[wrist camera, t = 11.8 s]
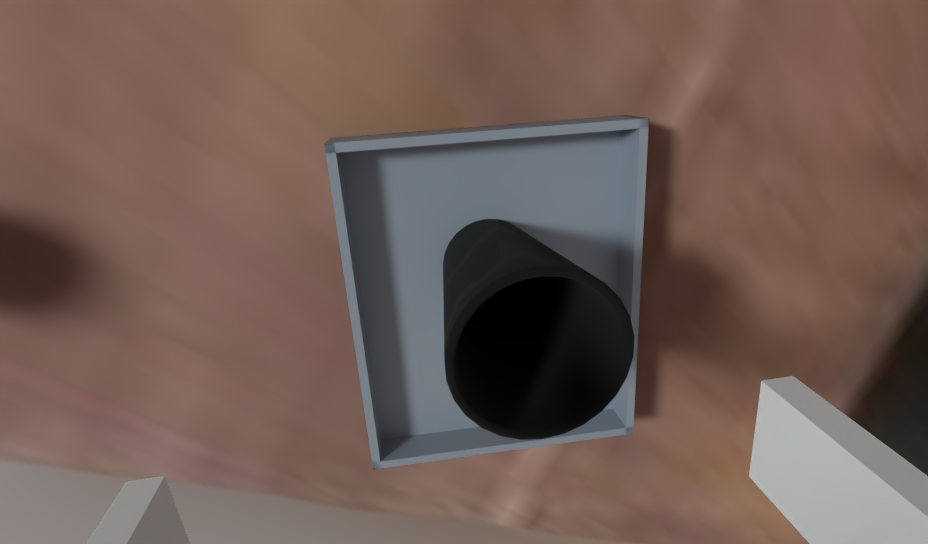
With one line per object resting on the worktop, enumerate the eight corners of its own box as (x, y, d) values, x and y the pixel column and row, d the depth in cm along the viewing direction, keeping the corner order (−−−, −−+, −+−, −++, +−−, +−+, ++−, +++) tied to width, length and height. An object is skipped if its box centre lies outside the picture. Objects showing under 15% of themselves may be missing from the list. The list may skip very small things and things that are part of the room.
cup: (478, 174, 30) (531, 226, 19) (575, 249, 32) (673, 335, 21) (399, 278, 32) (405, 384, 20) (497, 342, 34) (550, 470, 23)
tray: (330, 138, 29) (324, 143, 26) (625, 115, 31) (649, 118, 28) (374, 439, 36) (373, 469, 33) (615, 407, 38) (633, 433, 35)
